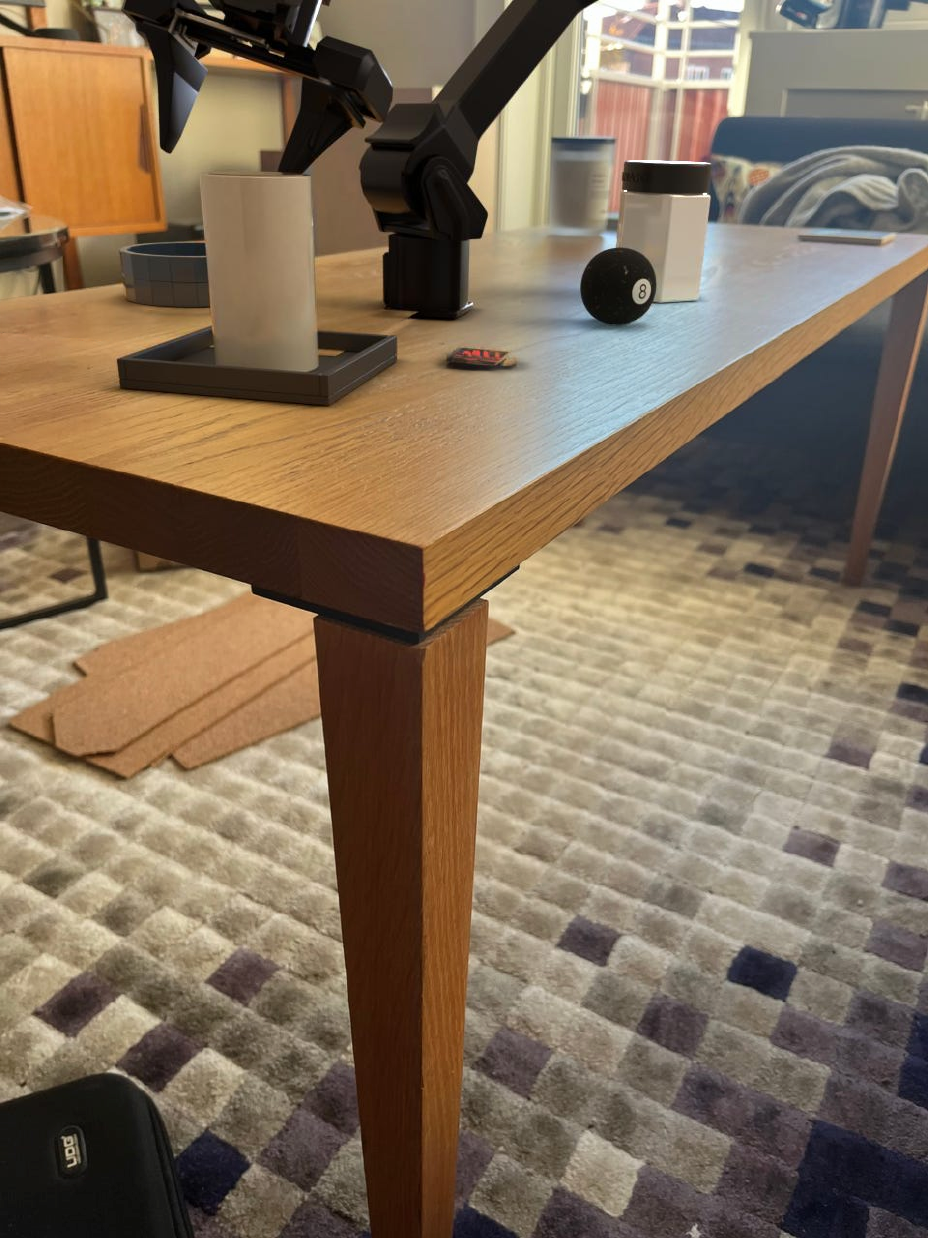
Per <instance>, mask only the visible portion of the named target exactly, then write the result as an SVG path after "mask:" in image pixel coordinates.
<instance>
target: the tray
mask: <svg viewBox="0 0 928 1238" xmlns="http://www.w3.org/2000/svg"><path fill="white" fill-rule="evenodd" d="M318 350H328V351H329V350H331V351H342V352H340V353H338V354H337V355H335V356H334V355H322V354H319V366H318V368H316V369H315V370H312V371H309V372H299V371H287V370H274V369H261V368H249V367H236V366H224V365H215V357H214V345H213V333H212V325H209V326H206V327H204V328H201V329H198V330H195V331H192V332H189V333H185V334H183V335H181V336H177V337H175V338H172V339H169V340H167V341H163V342H161V343H158V344H154V345H152V346H149V347H145V348H144V349H140V350H137V351H135V352H132V353H130V354H126V355H124V356H121V357H118V358H116V366H117V374H118V375H117V376H118V379H119V380H118V382H119V383H118V384H119V388H120V389H128V390H129V389H130V390H141V391H153V392H162V393H174V394H186V395H187V394H188V395H197V396H199V395H200V396H209V397H222V398H233V399H245V400H255V401H256V400H258V401H268V402H269V401H270V402H279V403H280V402H281V403H293V404H301V405H313V406H314V405H316V406H327V407H329V406H331V405H332V404H334V403H336V402H337V401H338V400H340V399H341V398H343V397H345V396H346V395H347V394H349V393H351V392H352V391H353V390H355V389H357V388H358V387H360V386H361V385H363V384H364V383H366V382H368V381H369V380H371V379H372V378H374V377H375V376H377V375H378V374H380V373H382V372H383V371H384V370H386V369H388V367H390V366H392V365H393V364H396V363H397V362H398V336H397V335H394V334H391V335H389V334H378V333H365V332H363V333H362V332H351V331H350V332H349V331H336V330H323V329H322V330H320V329H318Z"/></svg>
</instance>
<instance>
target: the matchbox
mask: <svg viewBox="0 0 928 1238" xmlns="http://www.w3.org/2000/svg"><path fill="white" fill-rule="evenodd" d="M509 354H512V350H501V349H495V348H492V349H491V348H486V347H483V346H482V347H468V346H467V347H465V346H463V347H462V346H457V347H456V349H453V351H451V352H450V353H449V354H446V362H450V363H457V364H467V365H468V364H469V365H477V366H496V365H497V366H501V367H508V366H509V367H510V366H516V365H517V363H518V360H517V359H516V357H515V358H514V357H512V358H509V356H510V355H509ZM501 362H502V364H500V365H499V363H501ZM460 367H461V368H463V367H464V366H463V365H462V366H460Z"/></svg>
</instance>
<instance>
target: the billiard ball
mask: <svg viewBox="0 0 928 1238" xmlns="http://www.w3.org/2000/svg"><path fill="white" fill-rule="evenodd" d="M656 287H657V283H656V275H655V271H654V269H653V266H652V265H651V263H650V261H649V260H648V259H647V258H646V257H645V256H644V255H642V254H641V253H639V252H638V251H635V250H633V249H629V248H622V247H618V248H616V247H611V248H607V249H604V250H602V251H600V252H599V253H597V254H595V255H594V256H593V257H592V258H591V259H590V260H589V261H588V263H587V264H586V265H585V267H584V270H583V272H582V274H581V278H580V283H579V291H580V297H581V302H582V304H583V306H584V308H585V310H586V311H587V313H588V314H589V315H590V316H591V317H592V318H593V319H595V320H596V321H598V322H600V323H603V324H606V325H610V326H624V325H628V324H631V323H634V322H636V321H638V320H639V319H642V317H643V316H645V314H646V313H647V312H648V311H649V310H650V308H651V306H652V304H653V303H654V302H653V300H654V297H655V294H656Z"/></svg>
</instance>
